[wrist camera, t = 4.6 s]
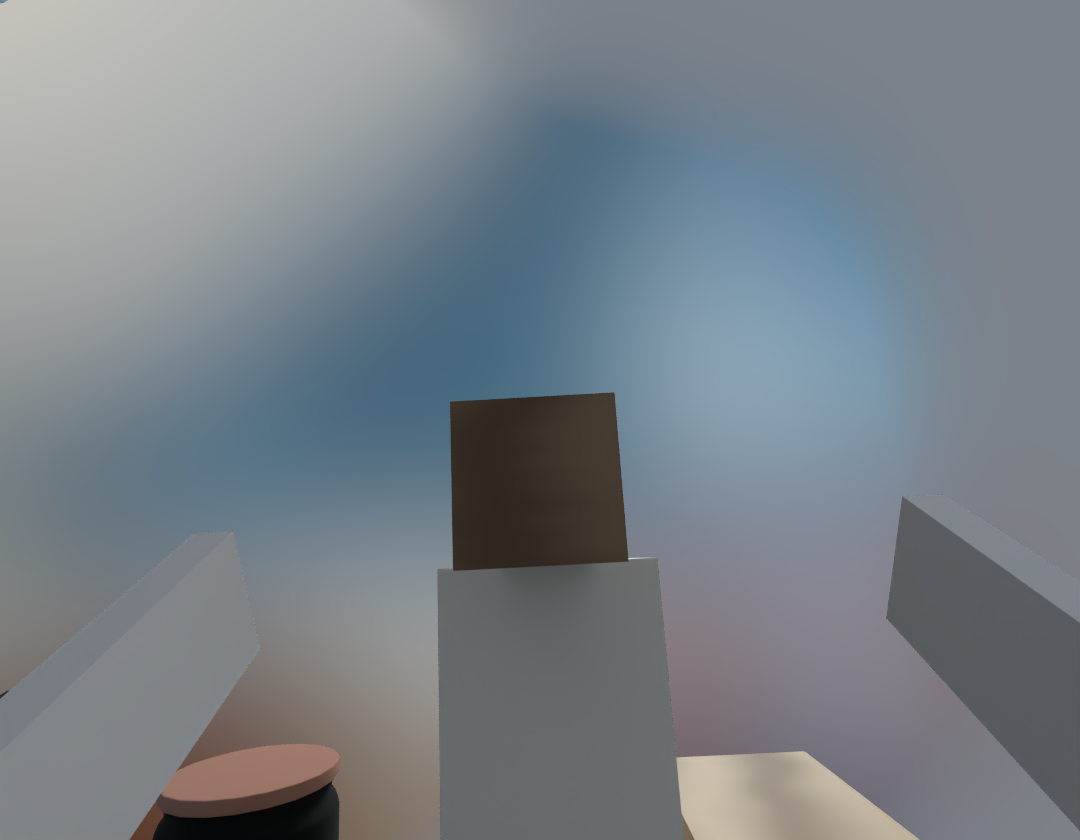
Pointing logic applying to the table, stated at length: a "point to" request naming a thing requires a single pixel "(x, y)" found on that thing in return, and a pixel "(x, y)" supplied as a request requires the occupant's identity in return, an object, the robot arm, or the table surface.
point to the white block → (555, 704)
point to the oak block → (775, 801)
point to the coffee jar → (254, 796)
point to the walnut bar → (536, 482)
